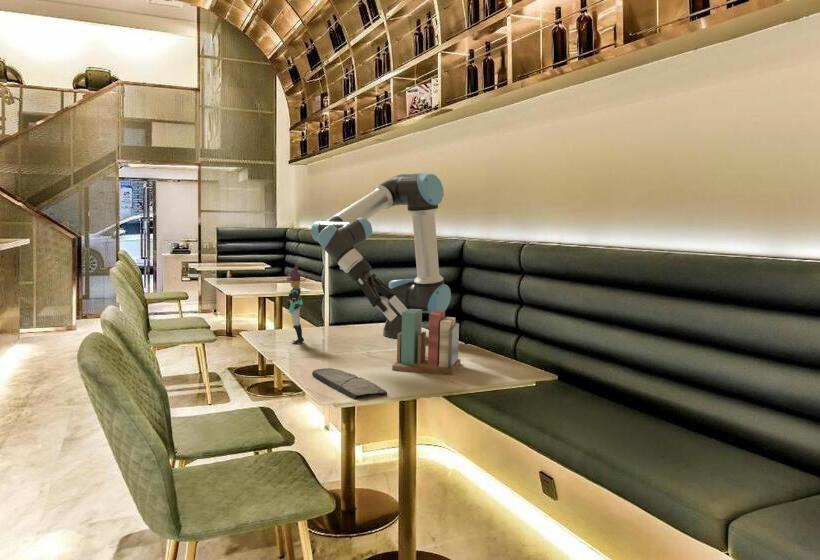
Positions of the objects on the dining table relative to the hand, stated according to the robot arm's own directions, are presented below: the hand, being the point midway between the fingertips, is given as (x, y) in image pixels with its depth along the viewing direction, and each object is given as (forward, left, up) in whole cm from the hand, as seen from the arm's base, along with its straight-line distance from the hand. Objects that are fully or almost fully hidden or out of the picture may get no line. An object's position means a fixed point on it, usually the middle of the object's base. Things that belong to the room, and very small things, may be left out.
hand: (399, 315), depth 194 cm
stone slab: (+28, -7, -17) cm, 34 cm away
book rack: (-1, +10, -16) cm, 19 cm away
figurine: (-22, -46, -16) cm, 54 cm away
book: (-1, +4, -14) cm, 15 cm away
